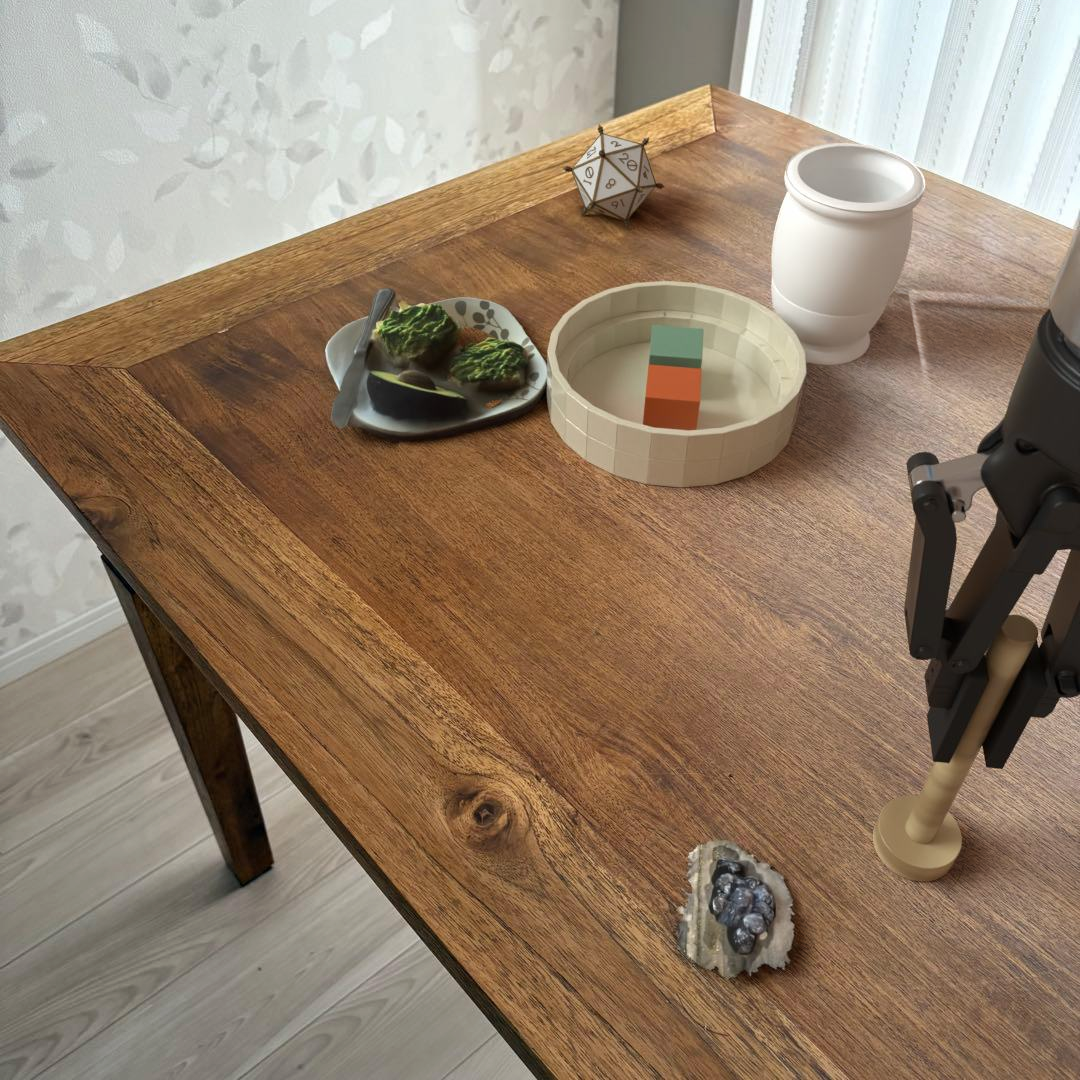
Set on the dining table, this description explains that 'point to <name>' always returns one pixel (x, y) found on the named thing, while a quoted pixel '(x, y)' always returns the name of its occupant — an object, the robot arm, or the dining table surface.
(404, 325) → the salad plate
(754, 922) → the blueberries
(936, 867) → the stand
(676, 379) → the rust block
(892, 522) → the dining table surface
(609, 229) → the dining table surface
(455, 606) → the dining table surface
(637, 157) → the game die
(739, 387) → the bowl
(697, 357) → the sage block
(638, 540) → the dining table surface
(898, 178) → the jar
